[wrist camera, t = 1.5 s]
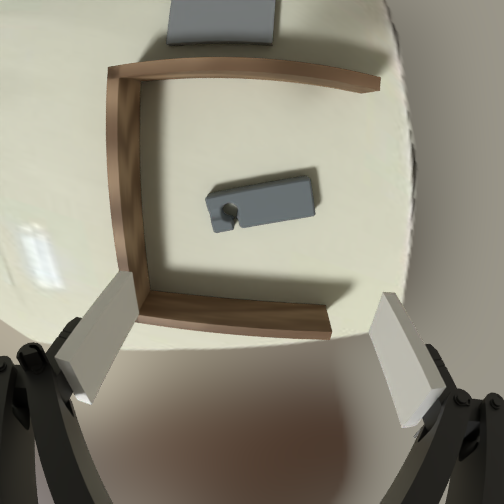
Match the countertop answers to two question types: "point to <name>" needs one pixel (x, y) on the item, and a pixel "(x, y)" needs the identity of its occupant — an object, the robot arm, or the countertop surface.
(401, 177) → the countertop surface
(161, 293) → the u-shaped wooden frame
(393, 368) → the robot arm
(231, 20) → the slate mat
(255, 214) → the bracket
